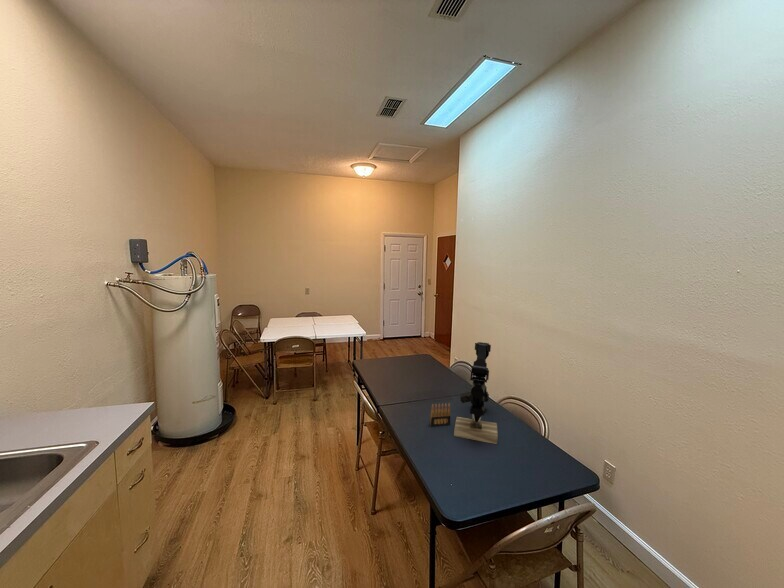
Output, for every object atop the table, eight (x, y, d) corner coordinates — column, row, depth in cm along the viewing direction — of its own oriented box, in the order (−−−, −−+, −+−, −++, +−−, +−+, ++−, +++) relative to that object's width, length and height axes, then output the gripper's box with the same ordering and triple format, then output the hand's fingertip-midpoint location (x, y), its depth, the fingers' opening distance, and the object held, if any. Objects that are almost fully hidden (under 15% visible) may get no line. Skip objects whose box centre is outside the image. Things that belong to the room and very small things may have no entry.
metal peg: (472, 422, 160) (473, 403, 159) (480, 424, 159) (481, 405, 158) (471, 426, 156) (473, 407, 155) (480, 428, 155) (481, 408, 154)
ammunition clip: (430, 426, 163) (431, 404, 162) (429, 424, 165) (430, 403, 164) (450, 425, 165) (451, 403, 164) (449, 423, 167) (450, 401, 165)
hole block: (456, 423, 167) (456, 416, 166) (496, 430, 161) (496, 423, 161) (454, 436, 155) (454, 428, 155) (497, 444, 150) (497, 436, 149)
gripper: (462, 380, 166) (461, 408, 168) (460, 395, 149) (458, 426, 151) (485, 383, 163) (483, 411, 165) (484, 398, 146) (482, 430, 148)
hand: (476, 419), depth 157 cm, fingers closed on metal peg, 4 cm apart
